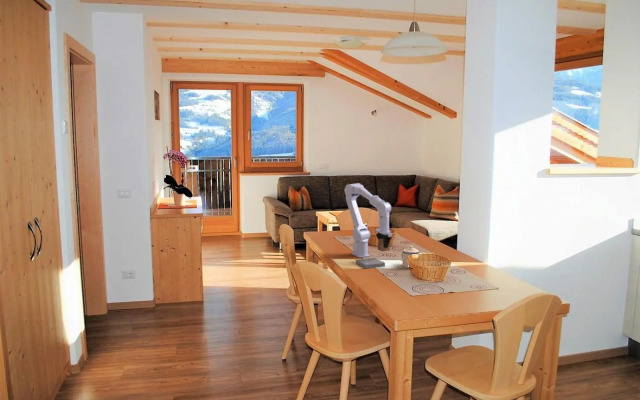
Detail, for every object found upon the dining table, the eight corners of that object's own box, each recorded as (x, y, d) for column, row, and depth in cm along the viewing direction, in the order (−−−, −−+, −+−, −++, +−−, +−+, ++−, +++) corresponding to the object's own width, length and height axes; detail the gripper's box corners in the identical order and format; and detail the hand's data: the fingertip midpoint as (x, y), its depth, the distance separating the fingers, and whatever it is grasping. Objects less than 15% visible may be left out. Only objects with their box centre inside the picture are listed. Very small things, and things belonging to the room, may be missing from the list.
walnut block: (377, 249, 287) (377, 239, 286) (384, 248, 289) (385, 238, 288) (382, 251, 282) (382, 241, 281) (389, 250, 284) (389, 240, 283)
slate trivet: (355, 263, 281) (355, 259, 281) (374, 261, 286) (374, 257, 285) (365, 268, 270) (365, 265, 270) (384, 266, 275) (384, 262, 274)
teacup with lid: (422, 267, 273) (422, 246, 271) (409, 269, 269) (409, 248, 267) (408, 262, 283) (408, 242, 282) (395, 264, 279) (396, 244, 277)
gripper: (396, 225, 278) (396, 248, 280) (383, 221, 291) (382, 243, 293) (386, 226, 275) (385, 249, 277) (373, 221, 288) (372, 244, 290)
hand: (383, 246), depth 285 cm, fingers closed on walnut block, 5 cm apart
